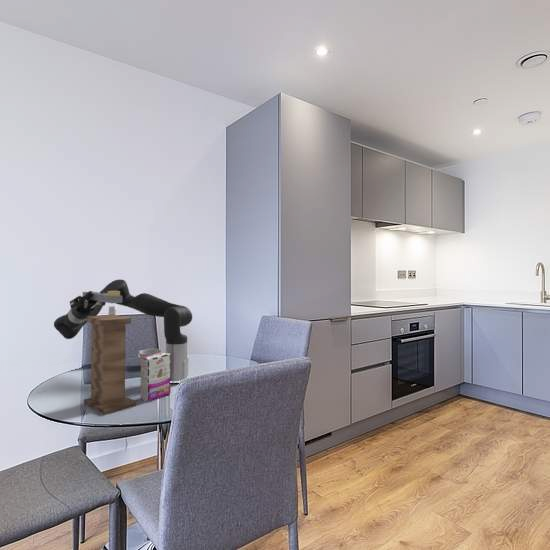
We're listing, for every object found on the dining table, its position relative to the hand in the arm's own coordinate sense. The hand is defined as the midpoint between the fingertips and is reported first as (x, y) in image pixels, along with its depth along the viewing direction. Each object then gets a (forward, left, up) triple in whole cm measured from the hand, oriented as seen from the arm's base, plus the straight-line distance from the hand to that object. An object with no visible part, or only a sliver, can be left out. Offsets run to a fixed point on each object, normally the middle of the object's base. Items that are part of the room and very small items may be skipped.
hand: (97, 292), depth 147 cm
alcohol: (+17, -49, -41) cm, 66 cm away
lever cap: (-3, +2, -3) cm, 5 cm away
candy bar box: (-22, -2, -41) cm, 46 cm away
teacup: (-3, -46, -41) cm, 62 cm away
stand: (-8, +7, -40) cm, 42 cm away
